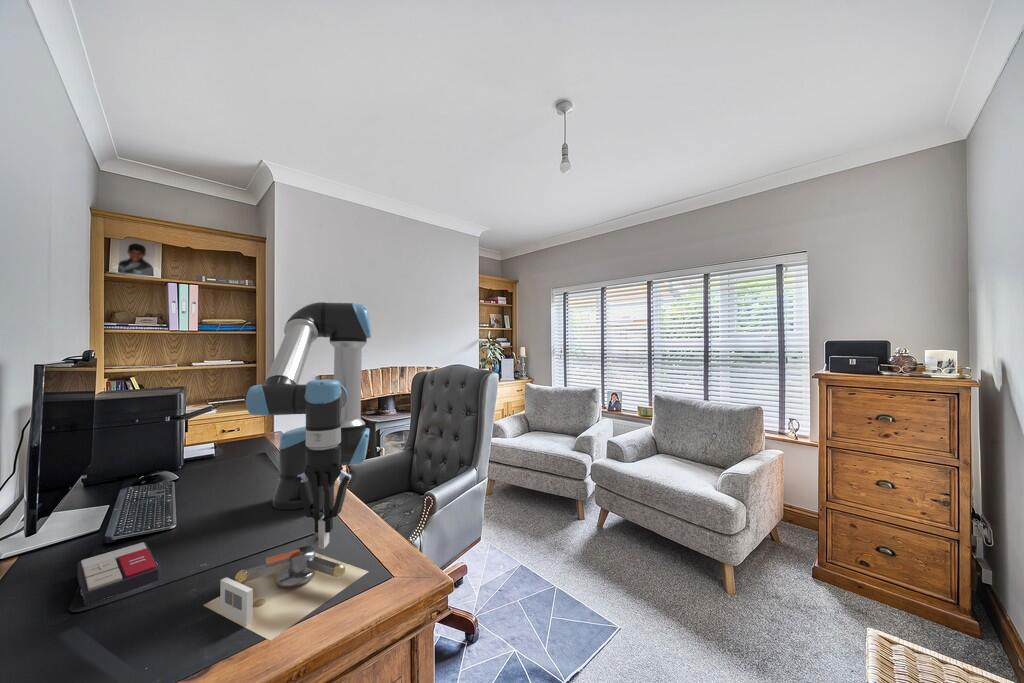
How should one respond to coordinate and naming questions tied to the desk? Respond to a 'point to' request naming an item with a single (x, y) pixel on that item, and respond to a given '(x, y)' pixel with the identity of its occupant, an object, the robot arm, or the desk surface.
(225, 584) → the panel
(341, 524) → the desk surface
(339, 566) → the capstan
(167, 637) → the desk surface
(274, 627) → the stand base
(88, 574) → the grey and red box
